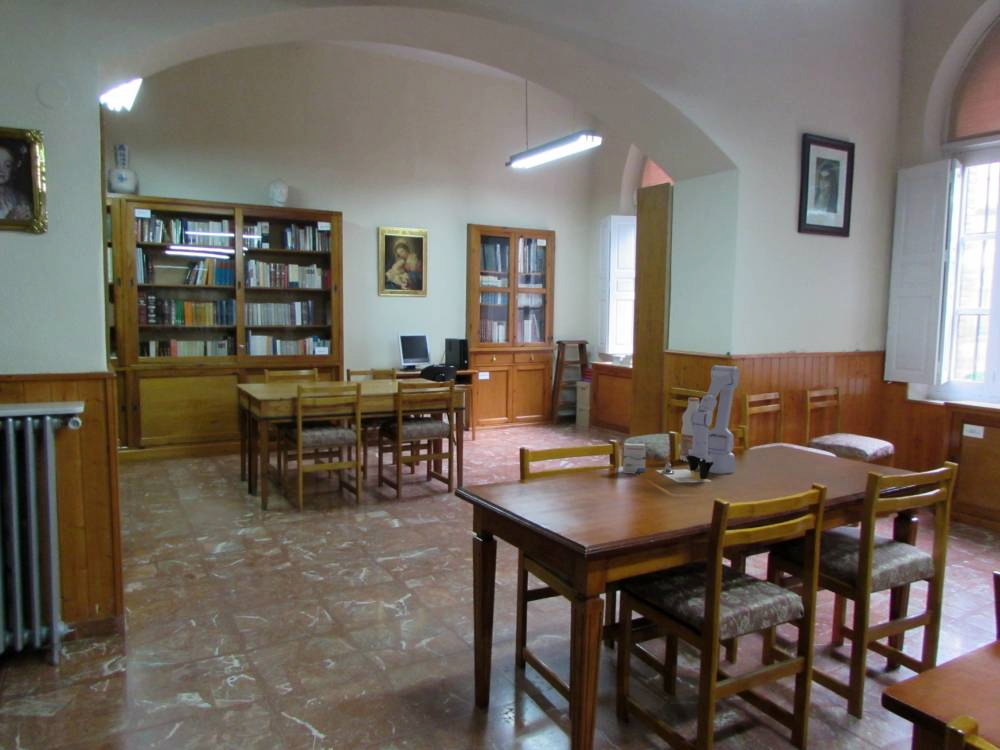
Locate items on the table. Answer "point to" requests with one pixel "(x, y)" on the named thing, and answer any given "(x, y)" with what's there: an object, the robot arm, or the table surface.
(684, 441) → the fruit juice
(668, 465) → the hub
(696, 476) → the ring
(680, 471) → the board
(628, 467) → the ink box
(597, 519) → the table surface
